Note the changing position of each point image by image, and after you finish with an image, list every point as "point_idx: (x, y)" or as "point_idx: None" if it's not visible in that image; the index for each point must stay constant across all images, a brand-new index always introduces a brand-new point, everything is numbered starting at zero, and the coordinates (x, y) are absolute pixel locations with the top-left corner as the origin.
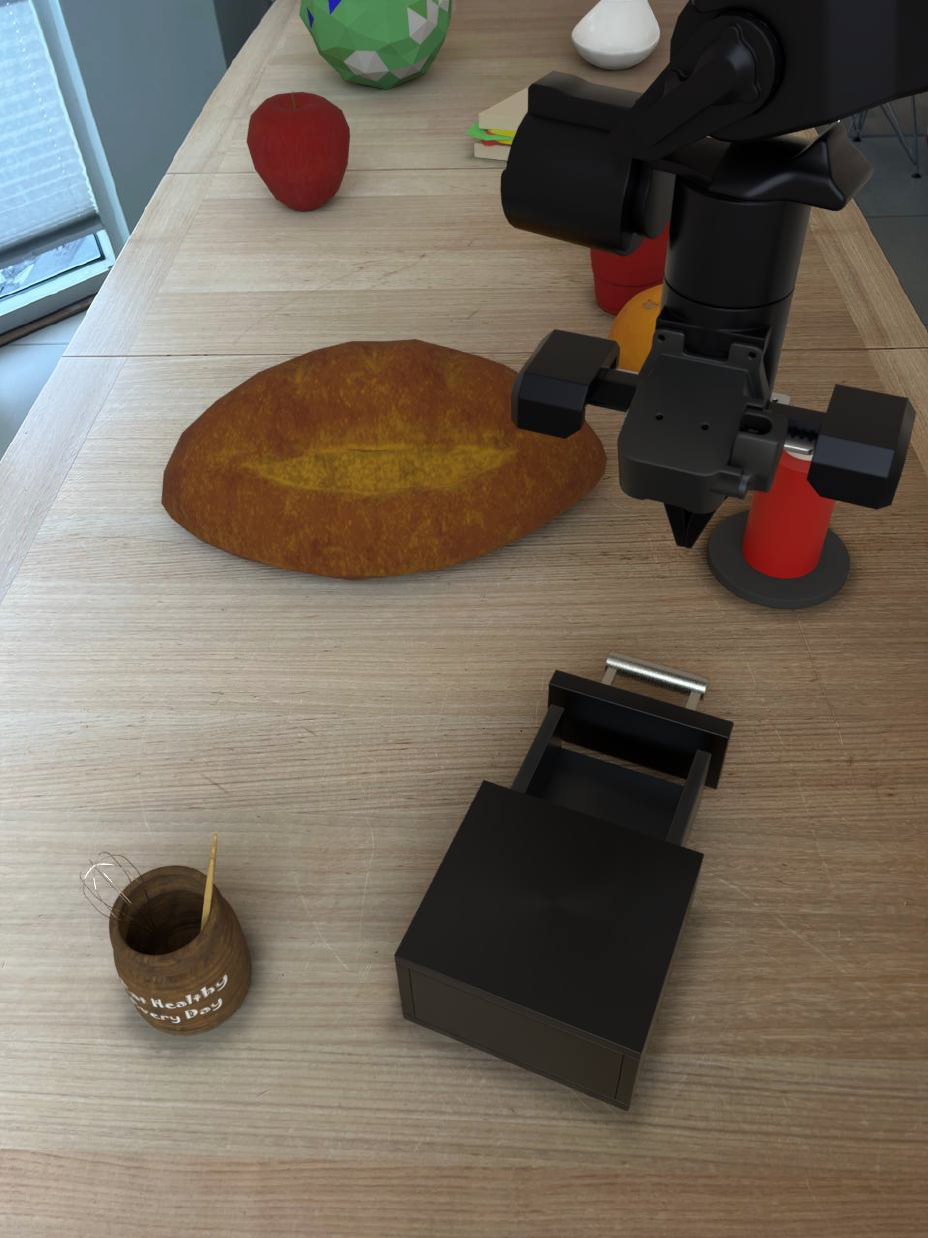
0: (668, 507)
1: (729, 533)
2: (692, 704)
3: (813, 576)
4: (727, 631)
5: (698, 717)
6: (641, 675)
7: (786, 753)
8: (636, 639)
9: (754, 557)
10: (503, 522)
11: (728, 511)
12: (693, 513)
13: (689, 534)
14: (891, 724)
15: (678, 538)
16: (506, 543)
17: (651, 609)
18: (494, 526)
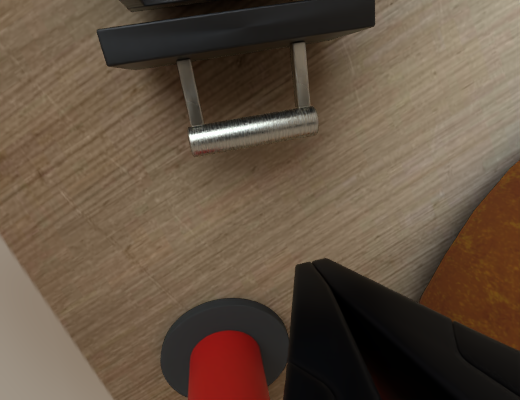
0: (424, 314)
1: (275, 353)
2: (192, 104)
3: (186, 351)
4: (227, 257)
5: (155, 45)
6: (268, 115)
7: (100, 149)
8: (298, 202)
9: (241, 341)
10: (489, 242)
11: None
12: (346, 334)
13: (317, 283)
14: (34, 239)
15: (332, 268)
16: (462, 230)
17: (300, 243)
18: (496, 232)
